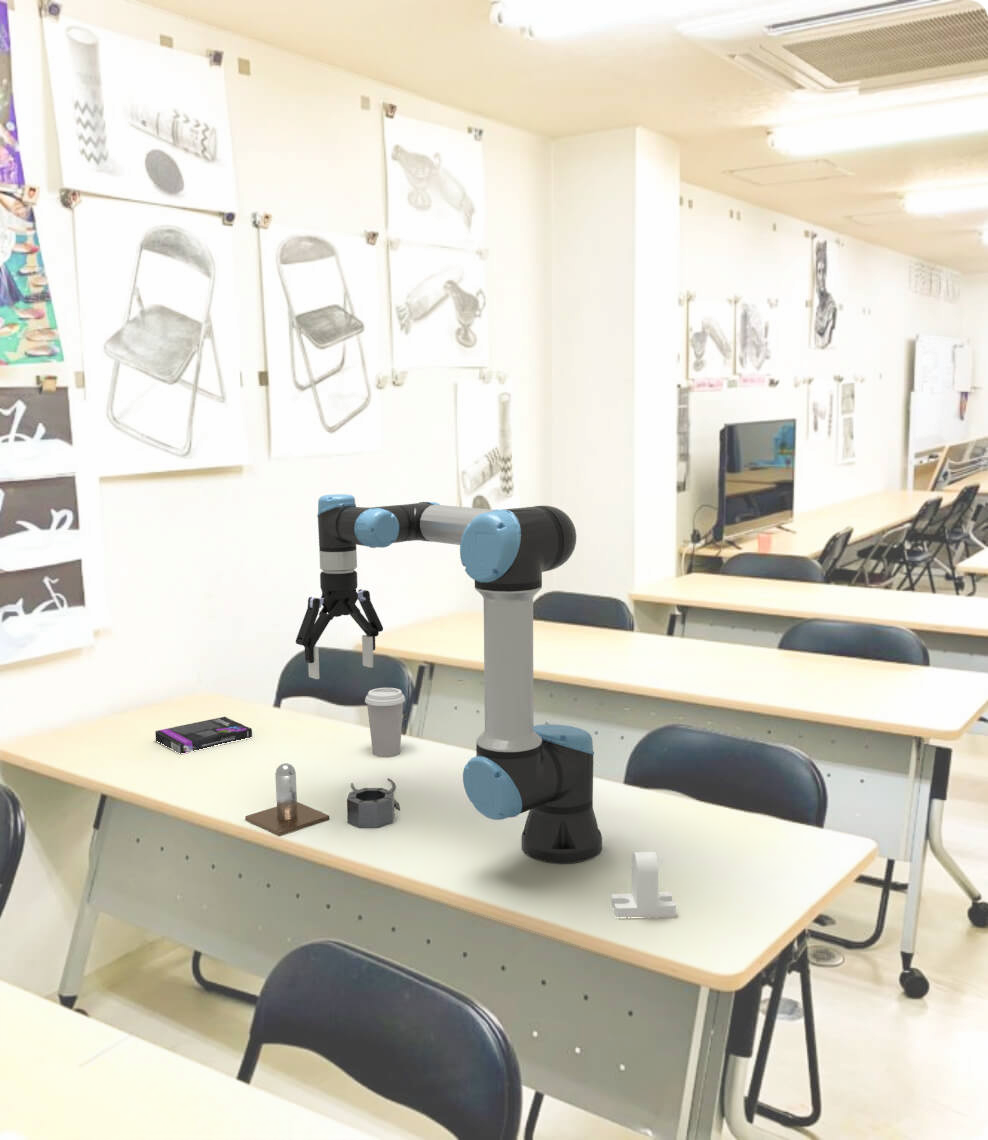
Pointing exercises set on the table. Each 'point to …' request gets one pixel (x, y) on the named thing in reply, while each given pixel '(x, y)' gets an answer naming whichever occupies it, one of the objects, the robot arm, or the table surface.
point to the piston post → (286, 807)
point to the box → (202, 734)
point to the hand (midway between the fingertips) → (341, 672)
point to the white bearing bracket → (644, 891)
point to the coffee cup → (385, 720)
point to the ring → (370, 807)
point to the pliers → (389, 790)
